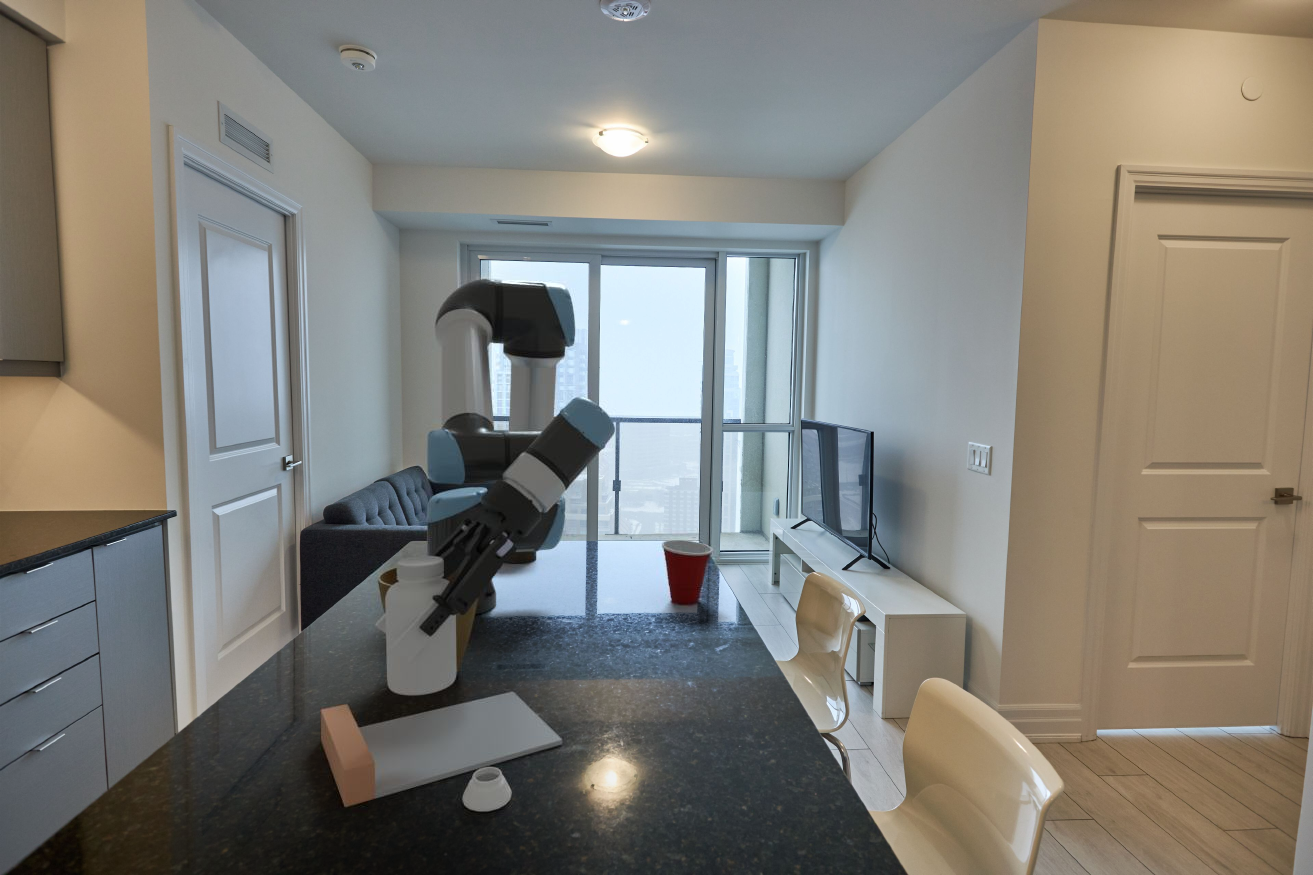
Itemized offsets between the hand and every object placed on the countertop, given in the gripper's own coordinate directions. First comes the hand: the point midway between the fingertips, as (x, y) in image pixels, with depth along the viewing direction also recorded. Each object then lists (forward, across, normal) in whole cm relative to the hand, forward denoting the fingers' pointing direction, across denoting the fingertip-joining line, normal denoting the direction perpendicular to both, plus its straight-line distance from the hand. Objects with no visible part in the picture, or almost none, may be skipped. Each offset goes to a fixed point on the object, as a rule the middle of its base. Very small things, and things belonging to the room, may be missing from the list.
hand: (392, 642), depth 82 cm
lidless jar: (+6, -14, -15) cm, 21 cm away
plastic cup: (-37, +32, -57) cm, 75 cm away
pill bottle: (+2, 0, -6) cm, 7 cm away
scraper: (+6, +1, -14) cm, 15 cm away
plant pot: (+2, +22, -17) cm, 28 cm away
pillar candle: (-25, +82, -45) cm, 97 cm away
